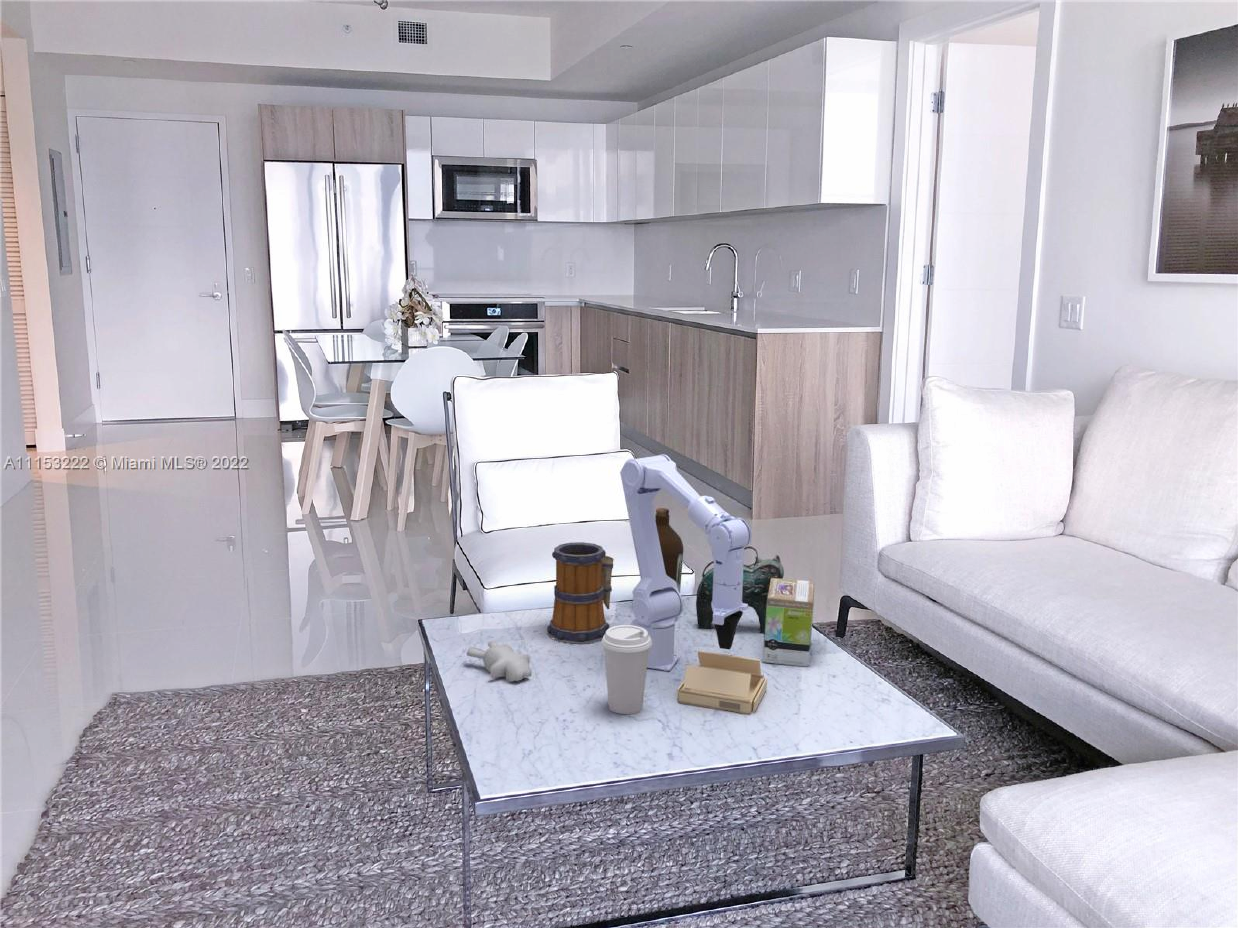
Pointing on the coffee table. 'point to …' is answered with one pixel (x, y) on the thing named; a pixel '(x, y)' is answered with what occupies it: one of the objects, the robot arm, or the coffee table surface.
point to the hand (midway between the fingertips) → (725, 647)
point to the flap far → (729, 662)
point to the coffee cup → (626, 667)
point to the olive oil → (669, 547)
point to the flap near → (717, 681)
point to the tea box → (788, 622)
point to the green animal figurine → (752, 591)
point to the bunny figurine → (503, 661)
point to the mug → (580, 593)
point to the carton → (726, 696)
